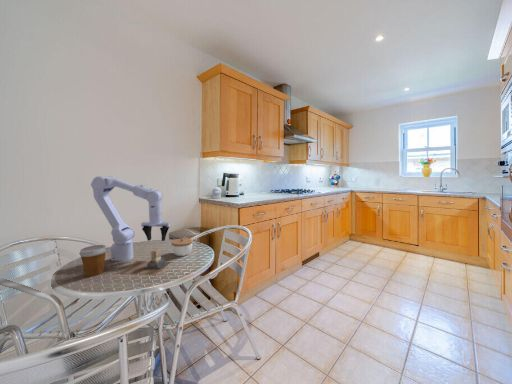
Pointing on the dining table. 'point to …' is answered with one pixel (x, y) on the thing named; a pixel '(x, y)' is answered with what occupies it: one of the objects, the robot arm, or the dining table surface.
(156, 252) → the tan wooden block
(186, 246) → the lidded jar
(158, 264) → the grey square socket
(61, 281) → the dining table surface
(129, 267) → the walnut board
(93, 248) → the disposable coffee cup
